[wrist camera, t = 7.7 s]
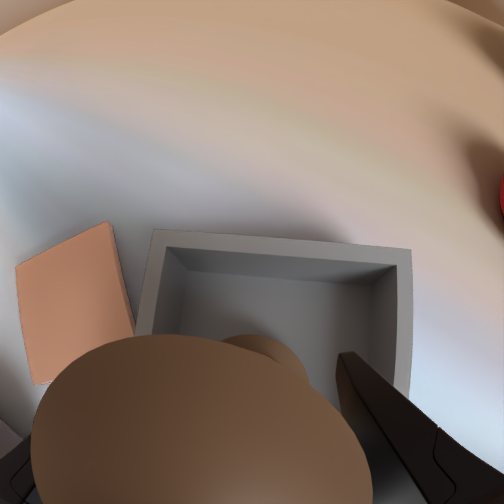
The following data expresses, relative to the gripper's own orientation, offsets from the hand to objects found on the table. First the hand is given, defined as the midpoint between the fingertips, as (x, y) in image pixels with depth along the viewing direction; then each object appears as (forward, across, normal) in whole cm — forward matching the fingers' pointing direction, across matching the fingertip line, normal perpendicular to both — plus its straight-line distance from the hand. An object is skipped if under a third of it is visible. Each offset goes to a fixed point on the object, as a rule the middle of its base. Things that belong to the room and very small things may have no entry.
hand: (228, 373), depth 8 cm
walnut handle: (+5, 0, +7) cm, 8 cm away
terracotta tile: (+9, +12, +4) cm, 15 cm away
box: (+6, -1, +8) cm, 9 cm away
